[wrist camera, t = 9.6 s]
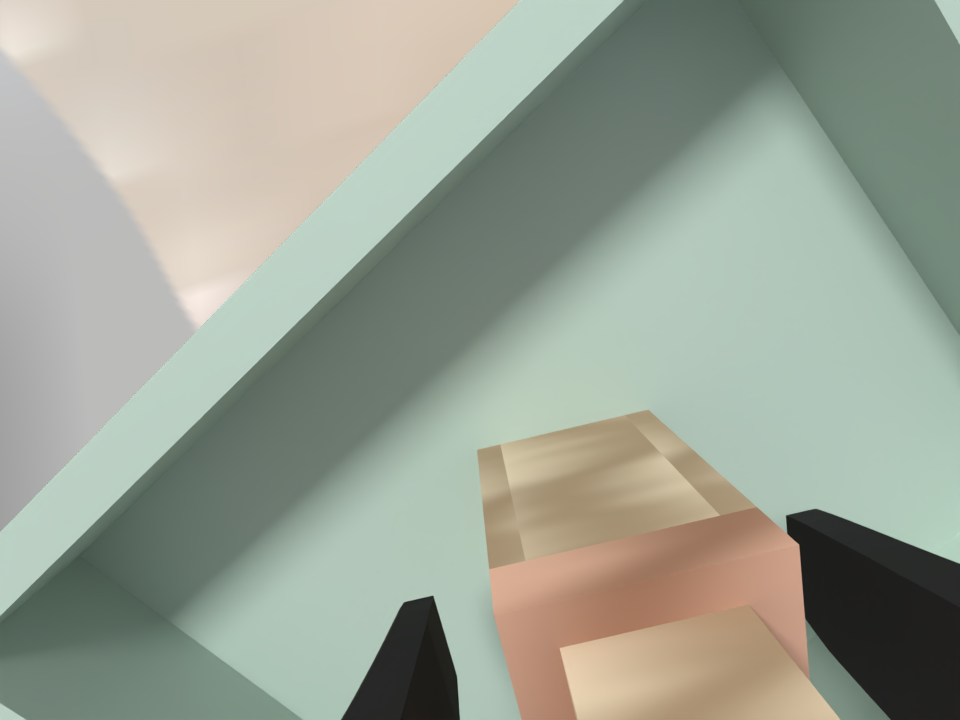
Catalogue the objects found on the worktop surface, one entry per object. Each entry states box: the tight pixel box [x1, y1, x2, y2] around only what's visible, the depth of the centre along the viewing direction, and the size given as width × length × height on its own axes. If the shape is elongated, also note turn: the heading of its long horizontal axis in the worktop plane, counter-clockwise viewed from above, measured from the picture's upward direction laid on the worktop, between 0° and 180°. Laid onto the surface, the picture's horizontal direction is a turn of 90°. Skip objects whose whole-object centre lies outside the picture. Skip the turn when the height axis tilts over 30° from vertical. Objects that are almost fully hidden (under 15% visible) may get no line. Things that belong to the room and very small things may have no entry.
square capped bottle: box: [477, 410, 840, 720], centre depth 9 cm, size 4×4×8 cm
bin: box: [0, 0, 960, 720], centre depth 12 cm, size 18×22×4 cm
